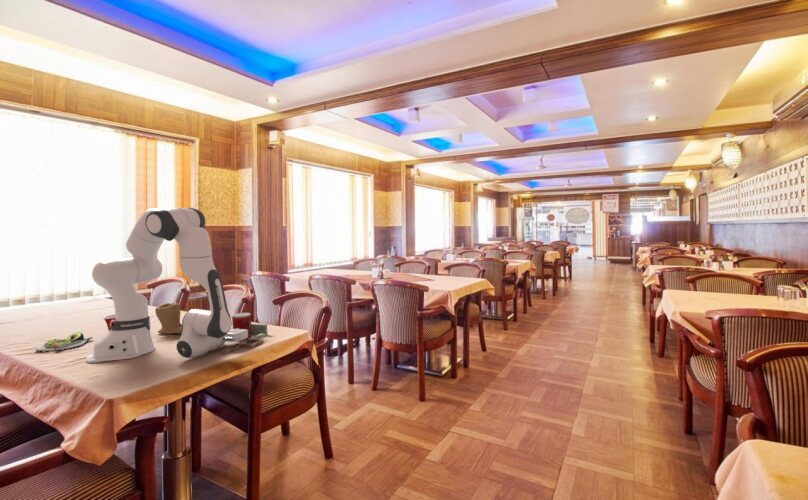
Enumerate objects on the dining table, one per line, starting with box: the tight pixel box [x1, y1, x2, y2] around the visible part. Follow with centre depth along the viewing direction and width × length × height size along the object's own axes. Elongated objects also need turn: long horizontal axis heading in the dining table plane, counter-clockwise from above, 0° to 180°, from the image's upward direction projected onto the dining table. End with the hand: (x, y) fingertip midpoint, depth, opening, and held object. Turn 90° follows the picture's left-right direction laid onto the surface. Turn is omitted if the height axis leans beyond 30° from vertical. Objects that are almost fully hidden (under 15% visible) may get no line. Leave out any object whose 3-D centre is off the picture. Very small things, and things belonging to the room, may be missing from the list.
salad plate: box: [35, 331, 94, 352], centre depth 174 cm, size 19×18×5 cm
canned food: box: [231, 312, 253, 341], centre depth 180 cm, size 8×8×11 cm
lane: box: [221, 323, 268, 354], centre depth 174 cm, size 28×28×5 cm
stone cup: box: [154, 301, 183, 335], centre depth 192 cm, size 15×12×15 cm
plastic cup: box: [102, 313, 116, 332], centre depth 183 cm, size 11×11×12 cm
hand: (236, 329), depth 176 cm, fingers closed, pressing on canned food
